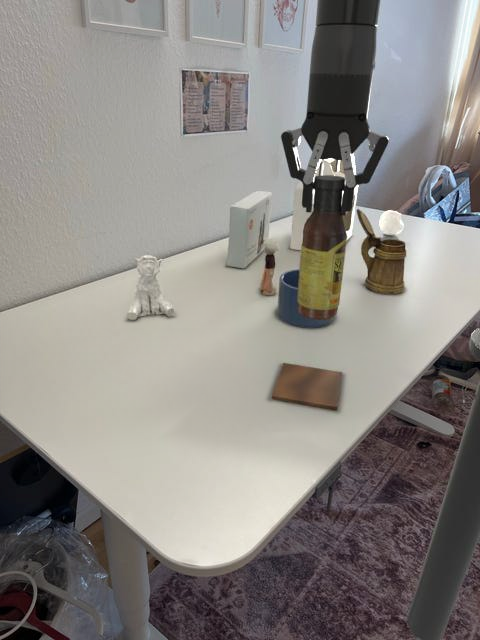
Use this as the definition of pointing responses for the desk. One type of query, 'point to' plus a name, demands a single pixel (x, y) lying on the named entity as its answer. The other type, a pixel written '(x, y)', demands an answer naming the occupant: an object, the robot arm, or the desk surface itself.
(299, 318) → the blue cup
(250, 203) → the skincare box
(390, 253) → the wooden mug
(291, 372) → the wooden coaster
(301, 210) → the gable box
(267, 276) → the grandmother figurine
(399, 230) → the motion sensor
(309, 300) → the sauce bottle
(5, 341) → the desk surface
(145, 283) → the sitting furry creature
